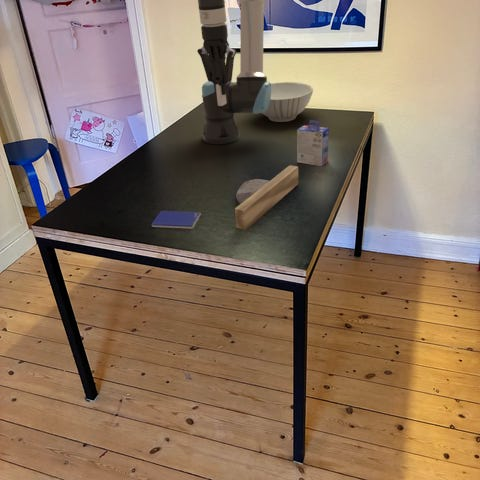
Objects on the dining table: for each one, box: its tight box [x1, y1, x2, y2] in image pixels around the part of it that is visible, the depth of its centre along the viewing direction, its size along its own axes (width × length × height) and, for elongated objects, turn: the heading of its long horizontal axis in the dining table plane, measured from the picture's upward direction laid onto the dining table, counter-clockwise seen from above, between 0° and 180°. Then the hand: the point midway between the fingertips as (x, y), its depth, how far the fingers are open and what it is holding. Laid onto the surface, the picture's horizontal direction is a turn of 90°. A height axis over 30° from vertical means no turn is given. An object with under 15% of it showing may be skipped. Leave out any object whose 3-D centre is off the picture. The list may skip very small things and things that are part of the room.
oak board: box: [234, 164, 299, 231], centre depth 142 cm, size 3×32×6 cm, turn 147°
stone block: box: [235, 178, 270, 204], centre depth 149 cm, size 12×5×10 cm
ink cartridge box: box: [296, 119, 330, 167], centre depth 165 cm, size 10×6×14 cm, turn 58°
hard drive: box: [151, 210, 202, 230], centre depth 140 cm, size 2×8×12 cm
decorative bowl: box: [262, 81, 314, 123], centre depth 209 cm, size 27×27×12 cm
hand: (222, 104), depth 151 cm, fingers closed
